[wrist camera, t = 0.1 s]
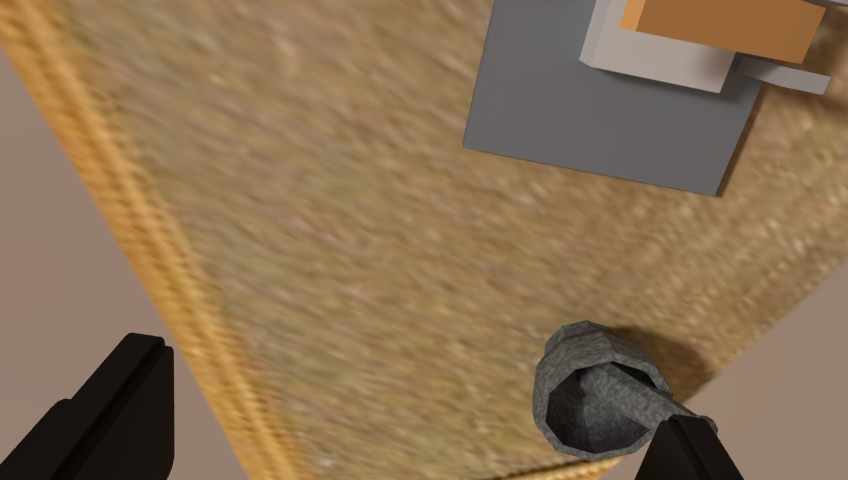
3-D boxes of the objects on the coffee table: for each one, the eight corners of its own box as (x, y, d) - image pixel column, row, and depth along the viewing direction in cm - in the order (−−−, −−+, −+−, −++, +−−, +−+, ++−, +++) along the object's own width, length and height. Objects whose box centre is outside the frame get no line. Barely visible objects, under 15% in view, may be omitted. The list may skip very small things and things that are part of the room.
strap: (641, -45, 25) (659, -43, 24) (808, 5, 32) (826, 8, 31) (618, 27, 26) (635, 31, 25) (784, 60, 33) (801, 64, 33)
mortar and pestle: (534, 408, 50) (562, 529, 39) (509, 320, 46) (532, 425, 35) (665, 380, 49) (733, 497, 38) (650, 285, 45) (720, 385, 34)
